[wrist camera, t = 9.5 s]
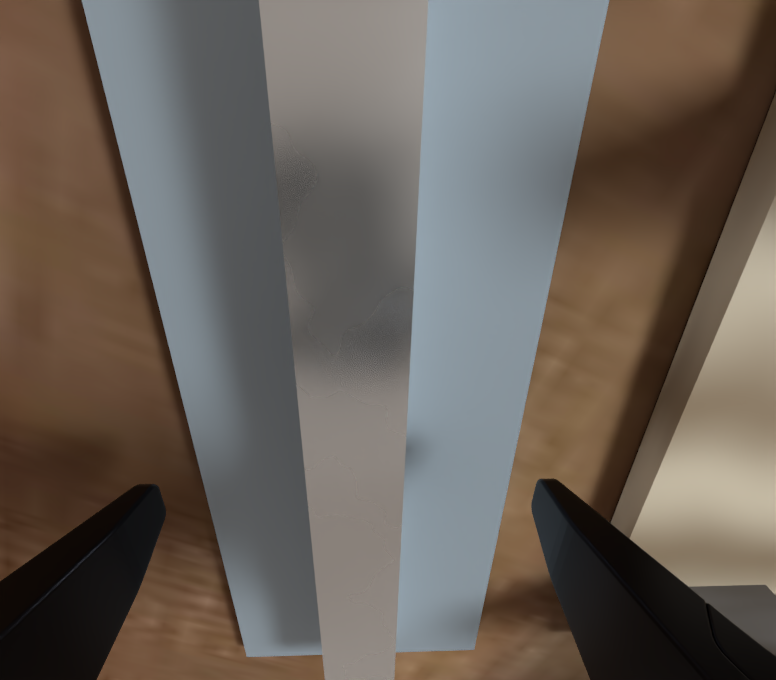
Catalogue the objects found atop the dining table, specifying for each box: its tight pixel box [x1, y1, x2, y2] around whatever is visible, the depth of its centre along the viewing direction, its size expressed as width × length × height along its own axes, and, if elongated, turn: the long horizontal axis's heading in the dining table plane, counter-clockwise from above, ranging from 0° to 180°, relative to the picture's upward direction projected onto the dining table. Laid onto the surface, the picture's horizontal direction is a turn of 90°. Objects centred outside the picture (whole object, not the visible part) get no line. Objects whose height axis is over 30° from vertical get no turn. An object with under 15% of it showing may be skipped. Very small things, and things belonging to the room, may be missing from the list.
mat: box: [82, 0, 609, 657], centre depth 12 cm, size 25×10×1 cm, turn 179°
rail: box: [259, 0, 428, 680], centre depth 11 cm, size 22×2×2 cm, turn 179°
